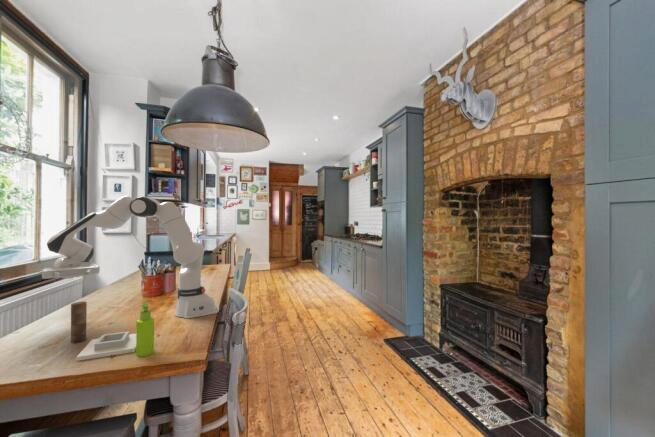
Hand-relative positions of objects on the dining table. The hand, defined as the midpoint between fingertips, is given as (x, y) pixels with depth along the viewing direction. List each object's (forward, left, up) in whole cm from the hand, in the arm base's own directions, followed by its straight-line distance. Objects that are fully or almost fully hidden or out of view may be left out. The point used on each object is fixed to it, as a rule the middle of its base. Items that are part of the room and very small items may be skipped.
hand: (74, 274), depth 129 cm
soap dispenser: (-33, +35, -27) cm, 55 cm away
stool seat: (-20, +24, -27) cm, 41 cm away
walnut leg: (-5, +11, -27) cm, 29 cm away
